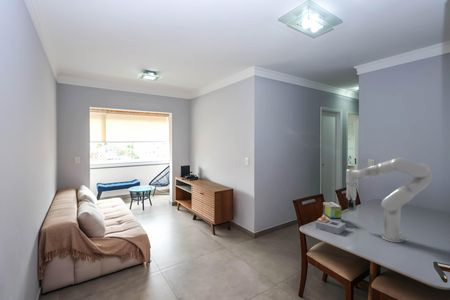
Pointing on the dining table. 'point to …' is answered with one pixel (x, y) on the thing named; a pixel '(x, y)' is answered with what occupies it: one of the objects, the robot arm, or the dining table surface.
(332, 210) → the tea box
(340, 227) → the socket block
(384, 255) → the dining table surface
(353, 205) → the plug
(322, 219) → the shutter
